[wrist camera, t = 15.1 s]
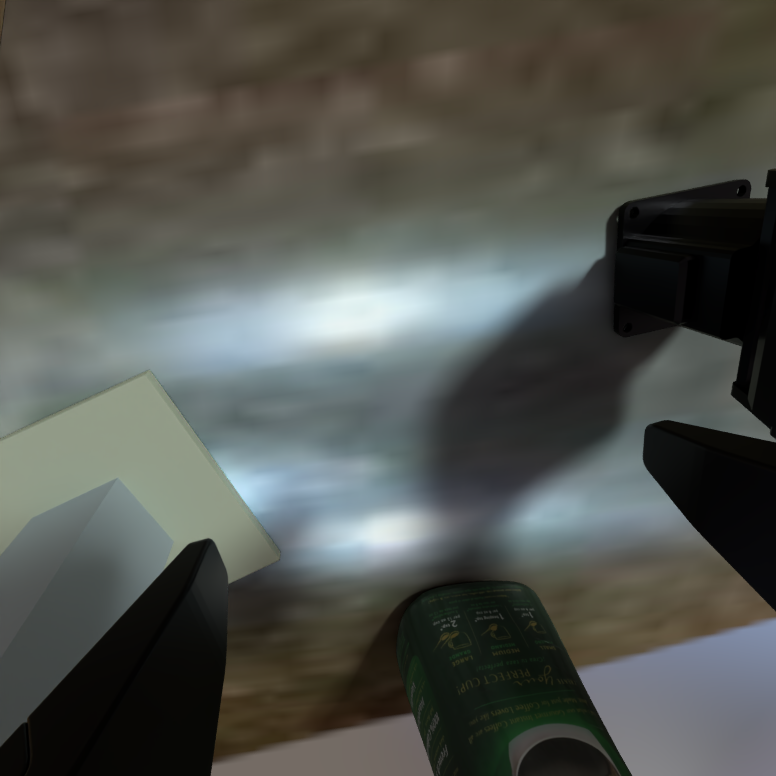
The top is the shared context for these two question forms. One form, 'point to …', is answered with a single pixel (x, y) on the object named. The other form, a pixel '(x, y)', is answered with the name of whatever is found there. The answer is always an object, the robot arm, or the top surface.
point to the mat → (131, 472)
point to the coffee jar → (498, 687)
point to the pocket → (1, 14)
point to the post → (70, 589)
